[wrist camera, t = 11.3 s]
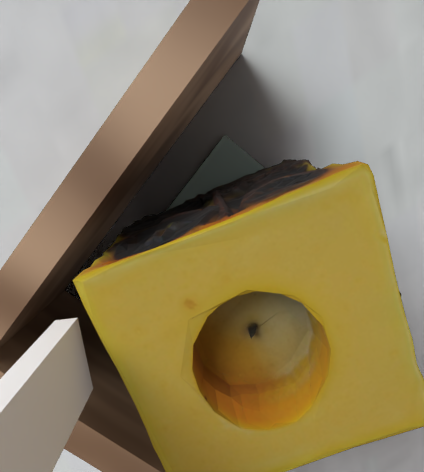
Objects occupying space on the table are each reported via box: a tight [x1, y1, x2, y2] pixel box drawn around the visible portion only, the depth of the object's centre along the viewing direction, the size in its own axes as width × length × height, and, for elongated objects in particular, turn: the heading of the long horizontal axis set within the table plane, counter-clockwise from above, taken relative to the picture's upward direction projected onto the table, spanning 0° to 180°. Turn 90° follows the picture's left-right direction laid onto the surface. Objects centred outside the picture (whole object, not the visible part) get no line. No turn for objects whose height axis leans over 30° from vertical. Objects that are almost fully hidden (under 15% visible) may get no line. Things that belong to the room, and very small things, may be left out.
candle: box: [73, 160, 424, 472], centre depth 16 cm, size 10×10×10 cm
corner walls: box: [0, 0, 259, 472], centre depth 17 cm, size 19×16×8 cm
